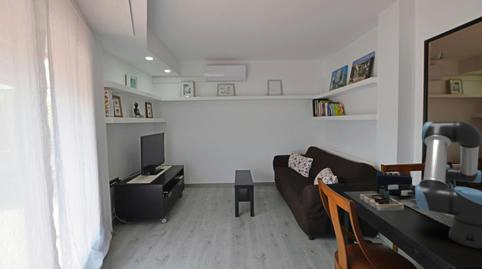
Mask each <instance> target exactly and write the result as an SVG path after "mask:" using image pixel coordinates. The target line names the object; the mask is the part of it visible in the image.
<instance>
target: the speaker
mask: <svg viewBox="0 0 482 269" xmlns="http://www.w3.org/2000/svg"><path fill="white" fill-rule="evenodd" d="M375 178H376V184H375V185H376V193H378V194H380V189H381V187H380V186H381V185H382V186H384V188H388V185H396V184H405V185H413V177H412V175H411V174H410V173H401V172H385V171H384V172H383V171H376V177H375ZM388 191H389V194H391V195H392V194H394V195H401V191H409V190H405V189H398V190H397V189H388ZM404 196H405V197H410V195H404Z"/></svg>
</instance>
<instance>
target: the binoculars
mask: <svg viewBox="0 0 482 269" xmlns="http://www.w3.org/2000/svg"><path fill="white" fill-rule="evenodd" d="M380 187H381V189H380V193H378V194H379V195H372V198H373V199H375V202H378V203H379V204H384V202H385V203H386V204H390V202H389V201H390V198H391V196H390V193H389V191H388V188H384V186H382V185H381V186H380ZM374 196H379V197H380V198H382V199H379V198H374Z"/></svg>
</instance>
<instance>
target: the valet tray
mask: <svg viewBox="0 0 482 269" xmlns="http://www.w3.org/2000/svg"><path fill="white" fill-rule="evenodd" d="M379 194H380V193H362V194H360V198H359V199H360V201H362V202H364V203H365V204H367V205H369V206H370V207H372V208H373V209H375V210H376V211H378V212H387V211H388V212H391V211H404V210H405V204H404V203H402V202H401V201H398V200H396V199H394V198H392V197H390V201H389V202H390V204H386V203H385V202H384V204H379V203H378V202H375V199H373V198H372V195H379ZM374 198H379V199H382V198H380V197H379V196H374Z"/></svg>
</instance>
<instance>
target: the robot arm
mask: <svg viewBox="0 0 482 269" xmlns="http://www.w3.org/2000/svg"><path fill="white" fill-rule="evenodd" d="M421 141H422V142H424V144H425V146H427V147H426V157H425V165H424V173H423V179H421V180H420V182H419V184H416V185H414V184H412V185H405V184H396V185H388V189H397V190H398V189H405V190H409V191H401V194H400V196H405V195H409V196H415V203H416V207H417V208H418V209H419V210H423V211H426V212H432V213H433V212H434V213H439V214H443V215H450V216H451V215H452V216H453V222H452V224H451V226H450V229H449V230H448V238H449V239H450V240H452V241H453V242H455V243H457V244H460V245H462V246H465V247H470V248H475V249H480V250H481V249H482V190H479V189H476V188H471V187H467V186H455V187H454V184H453V183H452V182H450V181H457V182H467V183H476V184H477V183H478V184H479V183H481V182H482V171H481V170H478V166H479V150H480V146H481V145H482V133H481V132H480V131H479V130H478V129H477V127H475V125H473V124H471V123H469V122H466V121H464V120H449V121H447V120H442V121H441V120H440V121H436V120H434V121H427V122H425V123H423V126H422V130H421ZM452 143H458V145H459V146H460V147H459V148H460V149H459V151H460V158H459V159H460V161H459V162H460V165H459V166H460V167H459V168H453V167H451V165H449V164H447V158H448V148H449V147H450V146H451V144H452Z"/></svg>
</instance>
